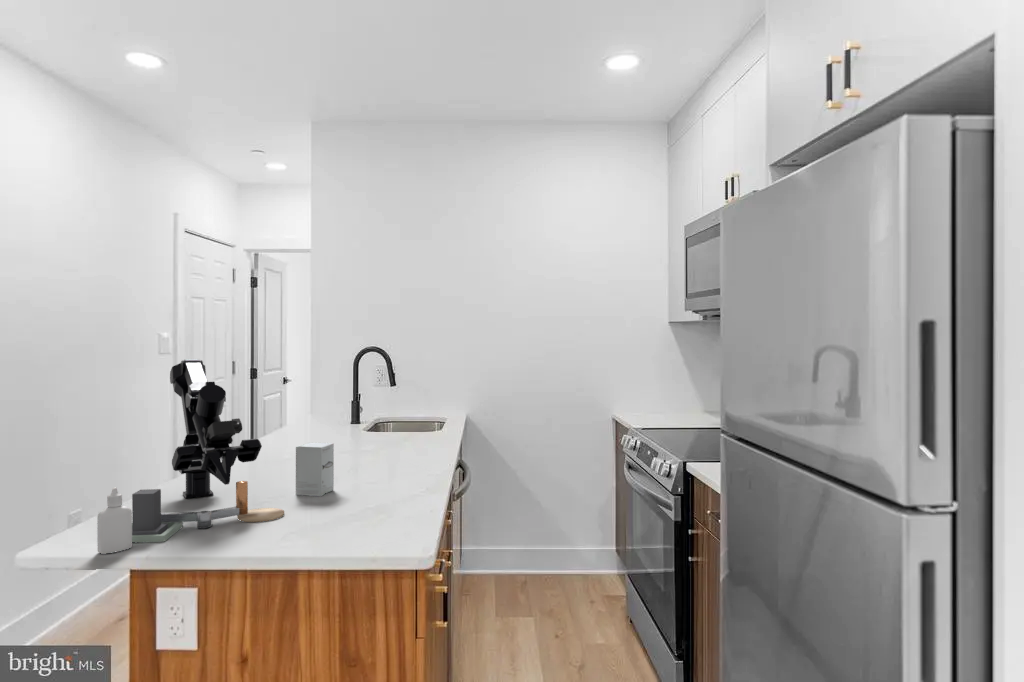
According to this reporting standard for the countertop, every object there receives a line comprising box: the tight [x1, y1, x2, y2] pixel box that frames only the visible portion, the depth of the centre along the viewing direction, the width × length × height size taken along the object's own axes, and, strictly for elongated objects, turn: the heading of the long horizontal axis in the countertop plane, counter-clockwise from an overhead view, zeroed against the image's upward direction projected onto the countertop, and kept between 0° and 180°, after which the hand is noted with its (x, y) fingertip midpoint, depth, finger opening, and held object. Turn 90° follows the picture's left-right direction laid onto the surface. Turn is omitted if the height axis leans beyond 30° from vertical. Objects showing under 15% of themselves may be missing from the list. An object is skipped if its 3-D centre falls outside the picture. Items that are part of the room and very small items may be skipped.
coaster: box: [236, 507, 285, 523], centre depth 153 cm, size 10×10×1 cm
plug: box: [131, 488, 168, 535], centre depth 139 cm, size 6×6×9 cm
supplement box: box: [295, 442, 335, 497], centre depth 175 cm, size 7×7×13 cm
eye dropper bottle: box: [96, 487, 133, 555], centre depth 129 cm, size 4×6×12 cm
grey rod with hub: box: [161, 480, 249, 529], centre depth 146 cm, size 21×8×8 cm, turn 93°
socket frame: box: [132, 522, 184, 544], centre depth 139 cm, size 10×10×1 cm
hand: (227, 483), depth 152 cm, fingers closed
